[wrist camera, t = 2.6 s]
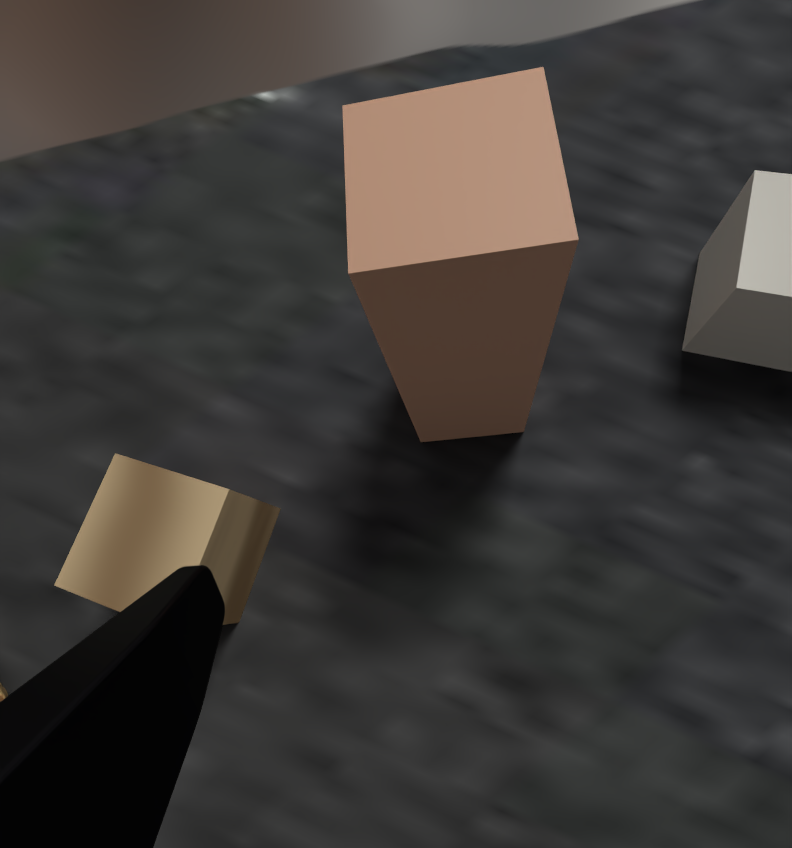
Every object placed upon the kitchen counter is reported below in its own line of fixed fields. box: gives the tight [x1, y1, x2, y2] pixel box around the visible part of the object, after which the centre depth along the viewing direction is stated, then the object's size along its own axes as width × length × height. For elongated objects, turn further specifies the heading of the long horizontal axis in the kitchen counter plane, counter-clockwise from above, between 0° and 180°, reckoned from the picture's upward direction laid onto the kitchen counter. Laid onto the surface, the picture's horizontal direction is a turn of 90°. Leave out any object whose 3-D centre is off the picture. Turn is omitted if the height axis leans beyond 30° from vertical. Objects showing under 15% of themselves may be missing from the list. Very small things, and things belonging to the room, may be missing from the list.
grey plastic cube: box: [682, 170, 792, 372], centre depth 20 cm, size 5×5×5 cm
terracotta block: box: [343, 67, 579, 442], centre depth 17 cm, size 4×4×13 cm
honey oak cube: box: [55, 453, 280, 625], centre depth 20 cm, size 5×5×5 cm
